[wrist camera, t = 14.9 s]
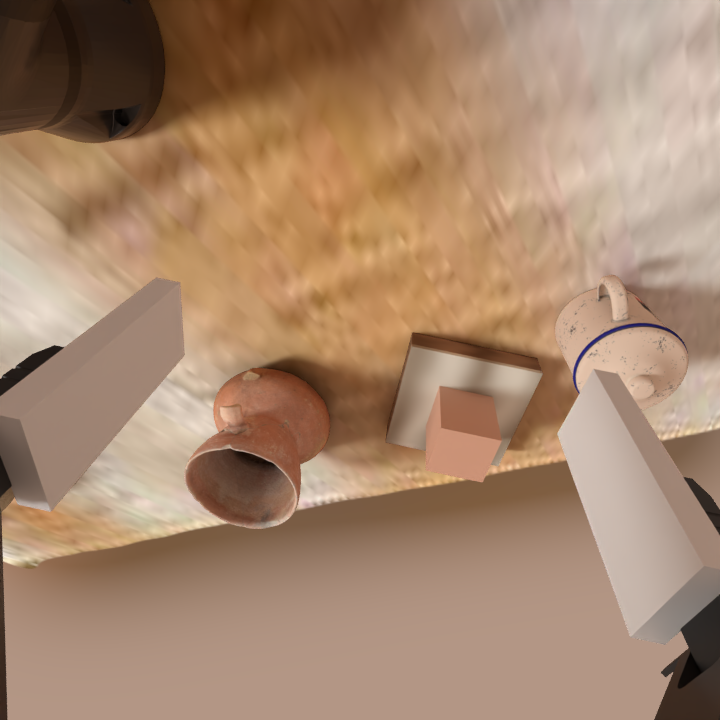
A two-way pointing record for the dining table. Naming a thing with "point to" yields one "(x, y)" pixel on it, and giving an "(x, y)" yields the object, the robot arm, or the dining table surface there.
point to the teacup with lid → (621, 342)
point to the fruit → (6, 499)
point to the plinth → (459, 386)
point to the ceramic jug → (258, 448)
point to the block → (462, 434)
